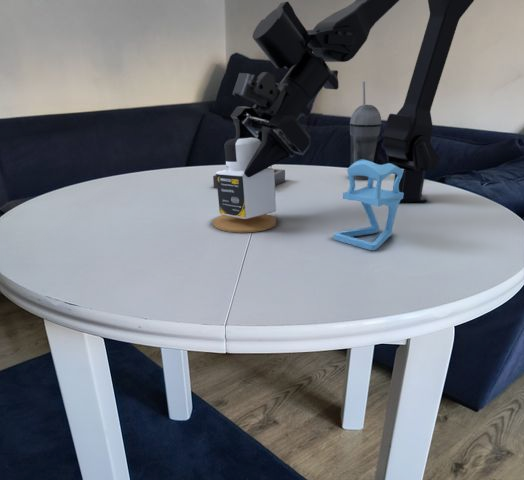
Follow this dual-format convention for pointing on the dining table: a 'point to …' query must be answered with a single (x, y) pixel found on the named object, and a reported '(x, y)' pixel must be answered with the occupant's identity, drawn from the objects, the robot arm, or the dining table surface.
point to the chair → (372, 201)
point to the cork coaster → (244, 223)
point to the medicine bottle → (244, 182)
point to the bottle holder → (278, 176)
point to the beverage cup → (364, 133)
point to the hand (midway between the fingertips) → (236, 171)
